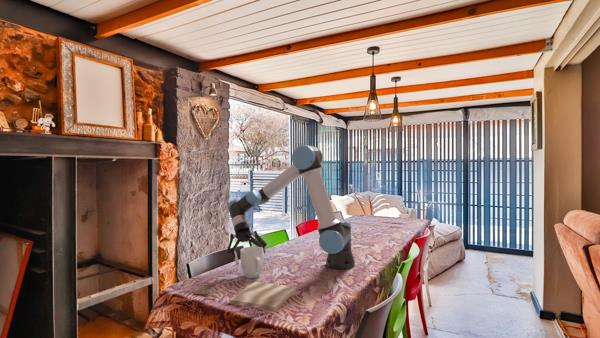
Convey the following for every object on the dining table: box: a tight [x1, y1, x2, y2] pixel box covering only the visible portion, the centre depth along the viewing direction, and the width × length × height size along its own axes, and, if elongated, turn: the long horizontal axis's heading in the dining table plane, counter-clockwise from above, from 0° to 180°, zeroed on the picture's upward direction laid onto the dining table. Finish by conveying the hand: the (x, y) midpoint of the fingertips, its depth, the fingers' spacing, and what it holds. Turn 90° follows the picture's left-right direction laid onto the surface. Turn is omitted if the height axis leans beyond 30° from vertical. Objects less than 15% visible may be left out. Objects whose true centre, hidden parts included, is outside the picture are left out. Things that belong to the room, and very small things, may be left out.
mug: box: [239, 245, 265, 279], centre depth 154 cm, size 15×11×13 cm
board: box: [228, 281, 297, 312], centre depth 131 cm, size 20×20×2 cm
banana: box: [193, 278, 226, 297], centre depth 143 cm, size 9×20×2 cm, turn 178°
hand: (251, 261), depth 156 cm, fingers open, 13 cm apart
